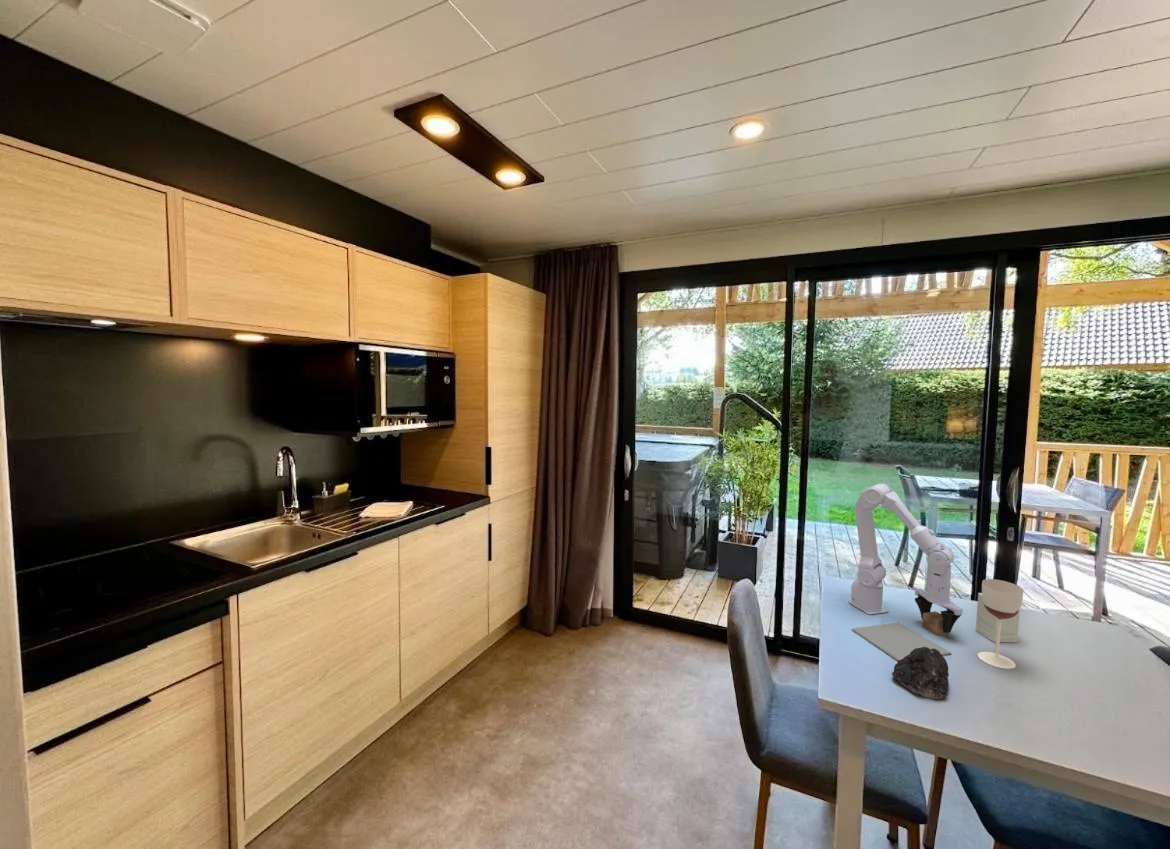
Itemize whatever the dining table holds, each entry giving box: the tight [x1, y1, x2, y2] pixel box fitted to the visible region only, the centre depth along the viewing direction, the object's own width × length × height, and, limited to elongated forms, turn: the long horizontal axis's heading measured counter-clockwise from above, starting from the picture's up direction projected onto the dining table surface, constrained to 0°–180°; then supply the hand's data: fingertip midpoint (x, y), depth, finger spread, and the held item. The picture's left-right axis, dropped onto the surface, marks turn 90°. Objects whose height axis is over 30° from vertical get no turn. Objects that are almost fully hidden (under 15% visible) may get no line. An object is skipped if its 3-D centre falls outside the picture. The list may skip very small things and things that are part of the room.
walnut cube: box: [922, 610, 950, 636], centre depth 153 cm, size 5×5×5 cm
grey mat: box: [851, 621, 952, 662], centre depth 147 cm, size 18×18×1 cm
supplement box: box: [975, 592, 1021, 643], centre depth 149 cm, size 7×7×13 cm
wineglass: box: [977, 578, 1024, 670], centre depth 136 cm, size 9×10×22 cm
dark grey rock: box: [891, 647, 950, 700], centre depth 126 cm, size 13×14×10 cm
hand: (935, 626), depth 153 cm, fingers open, 7 cm apart
